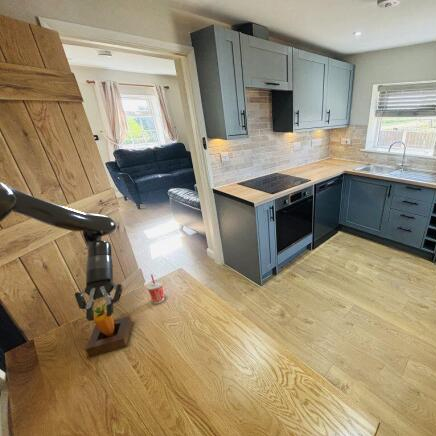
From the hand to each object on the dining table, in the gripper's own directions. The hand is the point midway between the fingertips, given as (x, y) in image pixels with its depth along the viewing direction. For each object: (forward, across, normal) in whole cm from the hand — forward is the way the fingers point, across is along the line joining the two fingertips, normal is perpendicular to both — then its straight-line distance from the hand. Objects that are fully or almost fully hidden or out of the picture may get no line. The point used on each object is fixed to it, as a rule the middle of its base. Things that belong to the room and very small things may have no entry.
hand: (100, 318), depth 81 cm
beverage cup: (-4, +14, +21) cm, 26 cm away
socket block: (+8, 0, +10) cm, 13 cm away
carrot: (+7, 0, +9) cm, 11 cm away
